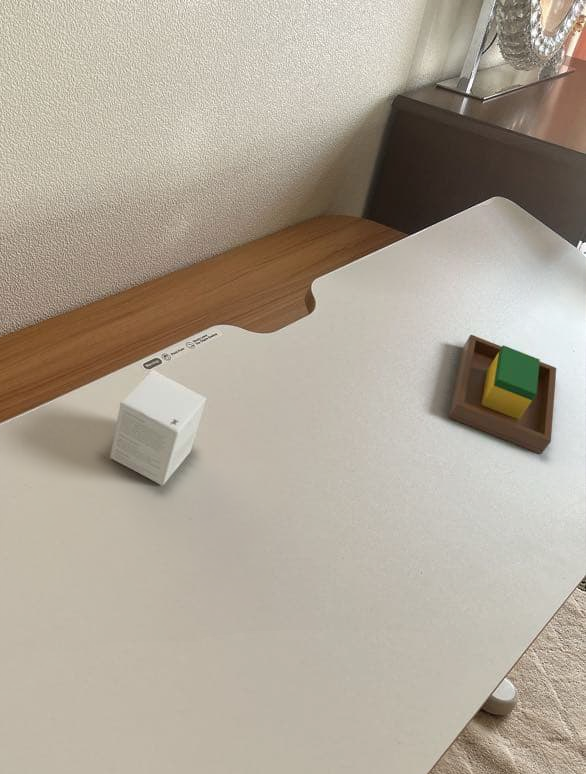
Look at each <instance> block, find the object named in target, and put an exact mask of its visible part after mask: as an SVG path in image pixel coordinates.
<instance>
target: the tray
mask: <svg viewBox="0 0 586 774" xmlns="http://www.w3.org/2000/svg"><path fill="white" fill-rule="evenodd" d="M502 346H503V345H499V344H497V343H494V342H492V341H488V340H486V339H484V338H481V337H478V336H476V335H474V334H470V335H469V336H468V338H467V340H466V342H465V343H464V345H463V347H462V351H461V356H460V361H459V365H458V369H457V370H458V372H457V376H456V380H455V385H454V390H453V395H452V401H451V405H450V408H449V409H450V410H449V414H448V419H451V420H453V421H456V422H458V423H461V424H463V425H466V426H468V427H470V428H473V429H476V430H479V431H481V432H484V433H487V434H489V435H491V436H494V437H496V438H499V439H502V440H504V441H507V442H509V443H512V444H514V445H517V446H519V447H522V448H524V449H526V450H528V451H531V452H534V453H537V454H539V455H542V454H543V453H544V451H546V449H547V447H548V446H549V445H550V443H551V441H552V432H553V431H552V430H553V418H554V404H555V394H556V393H555V392H556V390H555V389H556V378H557V367H555V366H553V365H550V364H549V363H548V364H547V363H545V362H542V361H540V363H539V373H538V383H537V392H536V395H535V397H534V398H533V400H532V401H531V403H530V404H529V405H528V407H527V408H526V410H525V411H524V413H523V414H522V416H521V417H520V418H519V419H516V418H513V417H511V416H508V415H506V414H503V413H501V412H498V411H496V410H493V409H490V408H488V407H485V406H483V405H481V403H482V398H483V392H484V386H485V380H486V374H487V370H488V369H489V367H490V365H491V364H492V362H493V360H494V359H495V357H496V356H497V354H498V352H499V351H500V349H501V348H502Z"/></svg>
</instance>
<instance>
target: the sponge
mask: <svg viewBox="0 0 586 774" xmlns="http://www.w3.org/2000/svg"><path fill="white" fill-rule="evenodd" d="M501 346H502V348H501V349H500V351H499V352H498V354H497V356H496V357H495V359H494V360H493V362H492V364H491V365H490V367H489V369H488V370H487V374H486V380H485V386H484V392H483V398H482V403H481V405H483V406H485V407H488V408H490V409H493V410H496V411H498V412H501V413H503V414H506V415H508V416H511V417H513V418H516V419H519V418H520V417H521V416H522V414H523V413H524V411H525V410H526V408H527V407H528V405H529V404H530V403H531V401H532V400H533V398H534V397H535V395H536V392H537V383H538V373H539V363H540V362H541V359H540V358H537V357H534V356H532V355H529V354H527V353H524V352H522V351H519V350H518V349H515V348H511V347H509V346H506V345H503V344H502V345H501Z"/></svg>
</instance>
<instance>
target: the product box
mask: <svg viewBox="0 0 586 774" xmlns="http://www.w3.org/2000/svg"><path fill="white" fill-rule="evenodd" d="M206 402H207V397H205V396H203V395H201V394H199V393H197V392H195V391H193V390H191V389H189V388H187V387H186V386H184V385H182V384H180V383H178V382H176V381H174V380H172V379H171V378H169V377H168V376H167V377H166V376H165V375H163V374H161V373H160V372H158V371H156V370H154V369H152V370H151V371H150V372H149V373H148V374H146V376H145V377H144V378H143V379H142V380H141V381H140V382H139V383H138V384H137V385H136V387H134V389H133V390H131V392H129V393H128V394H127V396H125V398H124V399H122V401H120V402H119V403H120V404H119V410H118V415H117V420H116V425H115V429H114V434H113V439H112V443H111V444H112V445H111V450H110V456H109V458H110V459H111V460H112V461H115V462H117V463H119V464H121V465H123V466H125V467H127V468H128V469H130V470H132V471H134V472H137V473H138V474H140V475H141V476H143V477H145V478H147V479H149V480H151V481H153V482H154V483H156V484H158V485H160V486H164V485H165V484H166V482H167V481H168V480H169V479H170V478H171V476H172V475H173V474H174V473H175V471H177V469H178V468H179V466H180V465H181V464H183V462H184V460H185V459H186V458H187V457H188V455H189V454H190V453H191V451H192V448H193V444H194V441H195V438H196V435H197V431H198V428H199V425H200V422H201V419H202V415H203V412H204V408H205V405H206Z"/></svg>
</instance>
